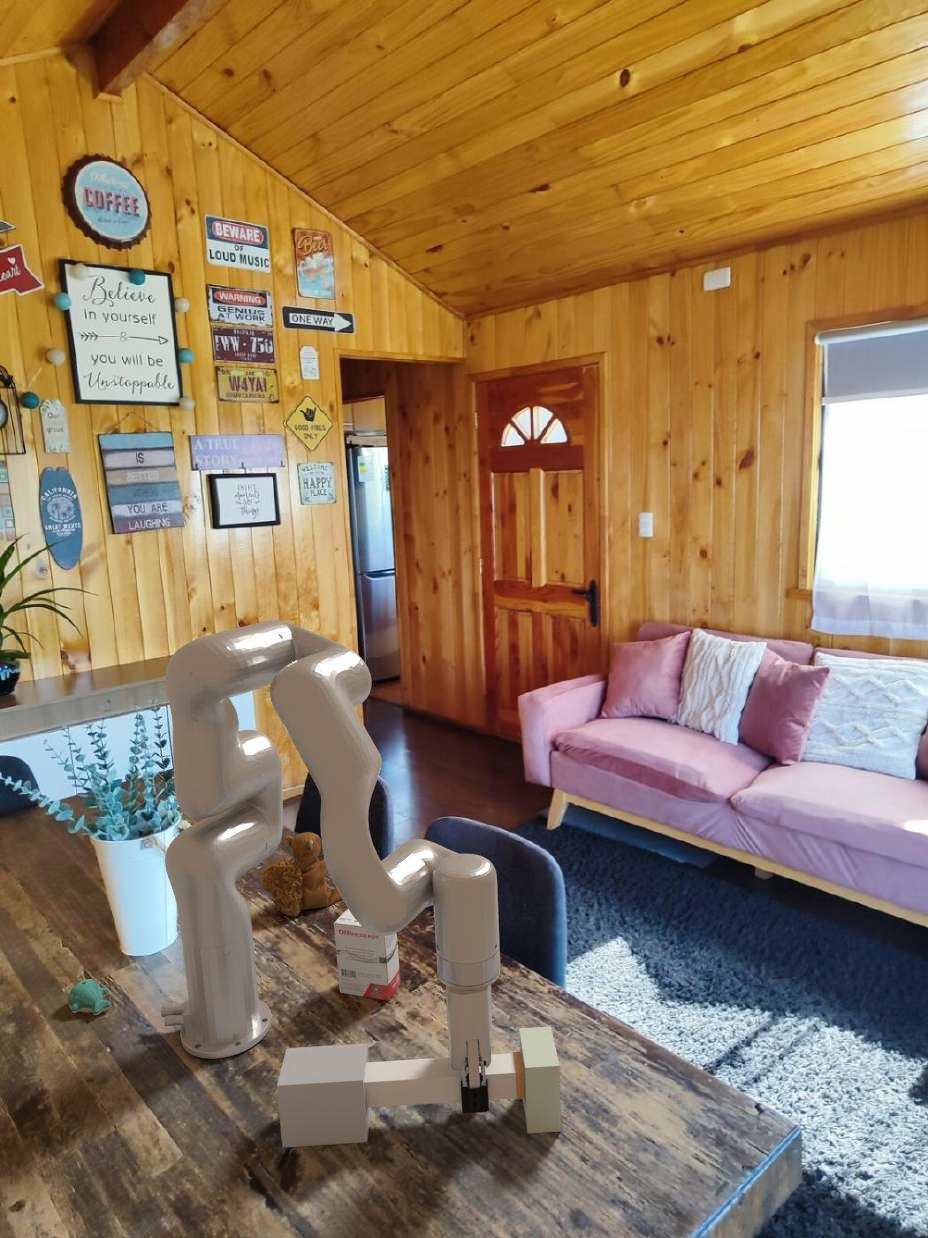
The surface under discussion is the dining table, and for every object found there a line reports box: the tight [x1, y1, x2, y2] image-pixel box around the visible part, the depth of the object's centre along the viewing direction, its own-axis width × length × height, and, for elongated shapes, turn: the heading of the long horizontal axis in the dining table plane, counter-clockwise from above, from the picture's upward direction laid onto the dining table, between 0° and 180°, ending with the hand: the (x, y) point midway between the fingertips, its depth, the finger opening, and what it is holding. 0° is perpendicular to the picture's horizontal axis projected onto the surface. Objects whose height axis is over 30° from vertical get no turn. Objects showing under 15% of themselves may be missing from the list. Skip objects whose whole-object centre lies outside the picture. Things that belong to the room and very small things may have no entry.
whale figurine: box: [67, 979, 112, 1016], centre depth 125 cm, size 6×7×4 cm
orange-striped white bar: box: [364, 1051, 526, 1109], centre depth 100 cm, size 24×4×4 cm, turn 92°
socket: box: [518, 1026, 562, 1134], centre depth 100 cm, size 4×7×9 cm, turn 2°
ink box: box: [333, 908, 402, 1002], centre depth 126 cm, size 9×5×12 cm, turn 71°
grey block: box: [276, 1042, 372, 1148], centre depth 99 cm, size 10×6×8 cm, turn 92°
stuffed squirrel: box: [258, 831, 343, 918], centre depth 152 cm, size 10×14×13 cm
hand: (474, 1096), depth 100 cm, fingers closed on orange-striped white bar, 3 cm apart
